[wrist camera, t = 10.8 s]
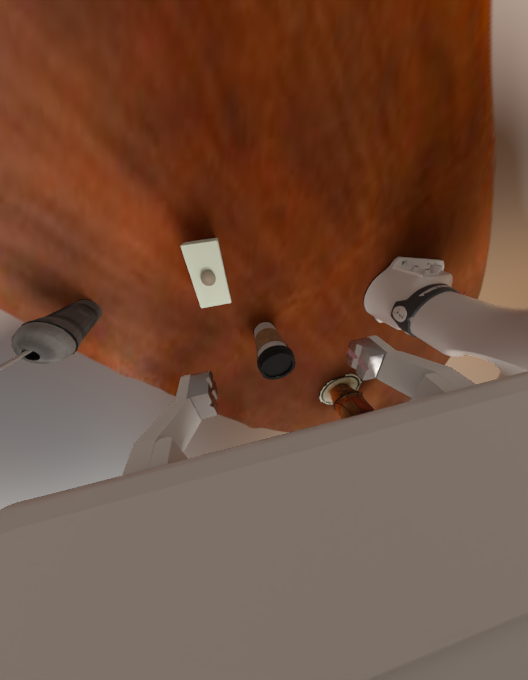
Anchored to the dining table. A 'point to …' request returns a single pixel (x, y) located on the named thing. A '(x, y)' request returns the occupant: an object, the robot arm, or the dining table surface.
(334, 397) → the decorative vase
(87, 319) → the beverage cup
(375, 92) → the dining table surface
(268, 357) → the coffee cup
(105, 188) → the dining table surface
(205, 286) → the lid
